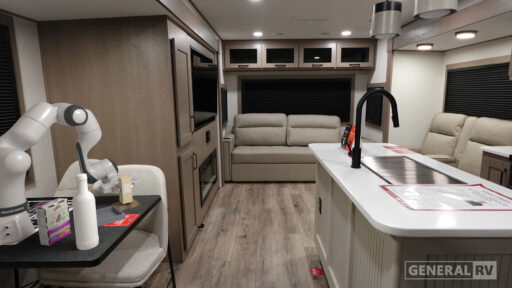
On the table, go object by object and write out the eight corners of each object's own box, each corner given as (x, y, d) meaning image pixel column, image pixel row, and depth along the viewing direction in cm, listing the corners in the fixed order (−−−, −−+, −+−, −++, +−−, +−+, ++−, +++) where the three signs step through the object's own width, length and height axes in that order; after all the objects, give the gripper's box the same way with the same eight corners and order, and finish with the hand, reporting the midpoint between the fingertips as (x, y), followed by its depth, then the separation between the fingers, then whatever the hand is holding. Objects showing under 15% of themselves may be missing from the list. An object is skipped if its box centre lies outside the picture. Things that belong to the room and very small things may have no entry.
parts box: (123, 204, 155) (121, 179, 153) (119, 201, 159) (117, 177, 157) (132, 201, 159) (131, 177, 157) (128, 199, 163) (127, 175, 160)
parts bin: (91, 229, 131) (90, 223, 131) (81, 219, 142) (81, 213, 141) (125, 219, 142) (125, 213, 142) (114, 210, 153) (113, 205, 152)
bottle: (72, 247, 116) (64, 175, 111) (91, 238, 123) (85, 170, 118) (83, 252, 112) (76, 178, 107) (103, 243, 119) (96, 173, 114)
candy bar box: (62, 232, 128) (58, 197, 126) (72, 233, 127) (68, 198, 125) (39, 245, 118) (34, 207, 115) (49, 246, 117) (44, 208, 114)
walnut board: (119, 211, 151) (119, 210, 151) (111, 205, 159) (111, 203, 159) (141, 205, 160) (141, 204, 159) (132, 200, 168) (132, 198, 168)
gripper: (96, 181, 159) (105, 187, 149) (133, 174, 173) (143, 179, 164) (97, 192, 160) (106, 199, 150) (134, 184, 174) (144, 190, 165)
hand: (125, 188), depth 157 cm, fingers closed on parts box, 5 cm apart
